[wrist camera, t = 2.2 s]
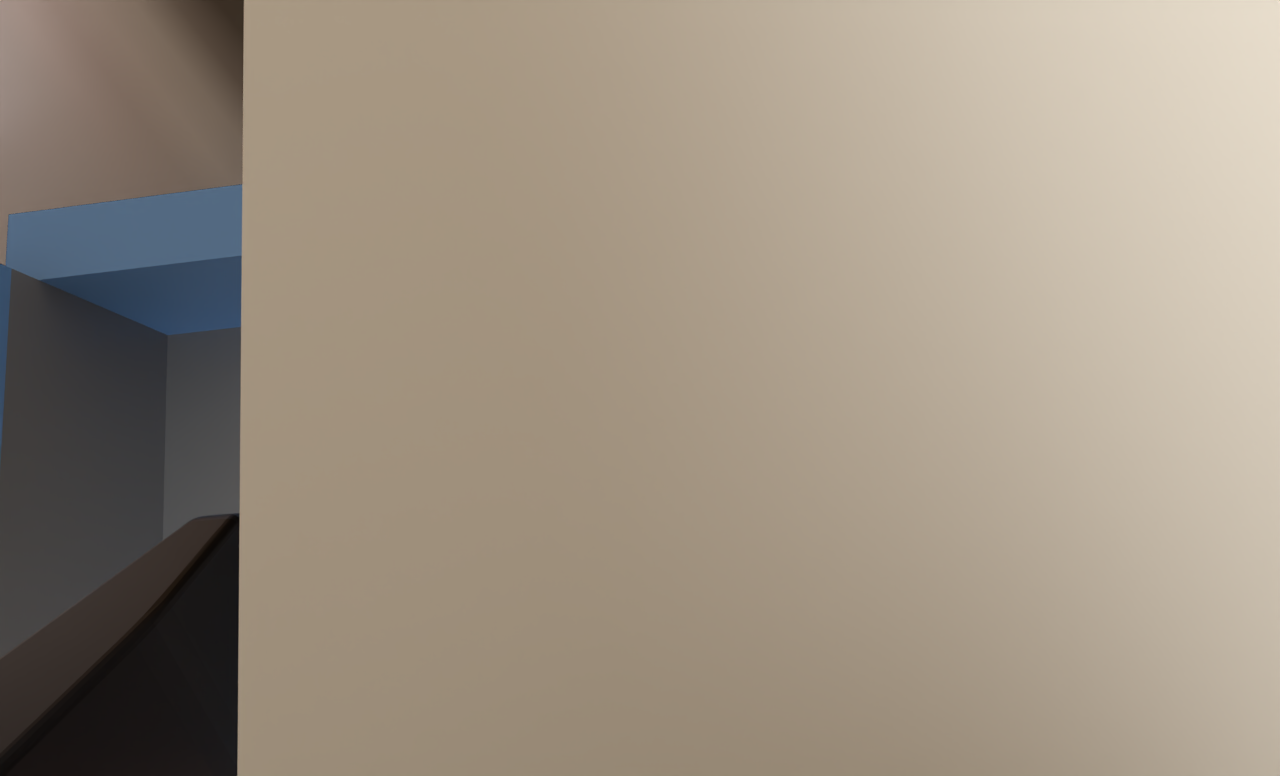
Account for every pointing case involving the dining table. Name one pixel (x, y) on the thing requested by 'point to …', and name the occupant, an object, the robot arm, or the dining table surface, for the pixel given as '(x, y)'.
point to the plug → (760, 388)
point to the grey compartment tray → (114, 389)
